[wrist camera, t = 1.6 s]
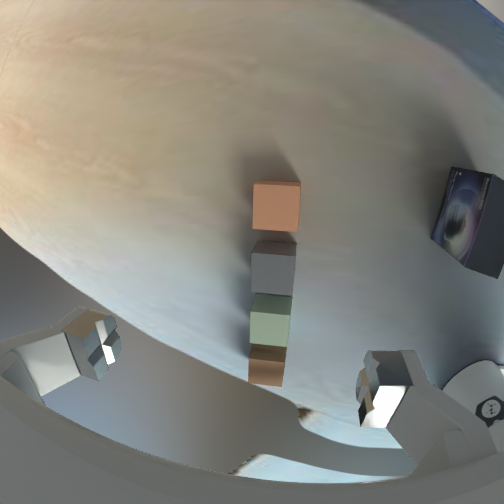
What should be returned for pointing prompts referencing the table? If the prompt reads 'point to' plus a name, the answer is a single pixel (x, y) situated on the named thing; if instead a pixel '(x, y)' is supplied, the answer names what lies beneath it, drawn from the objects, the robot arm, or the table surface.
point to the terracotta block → (276, 205)
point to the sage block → (270, 320)
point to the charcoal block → (273, 267)
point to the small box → (473, 221)
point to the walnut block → (267, 364)
